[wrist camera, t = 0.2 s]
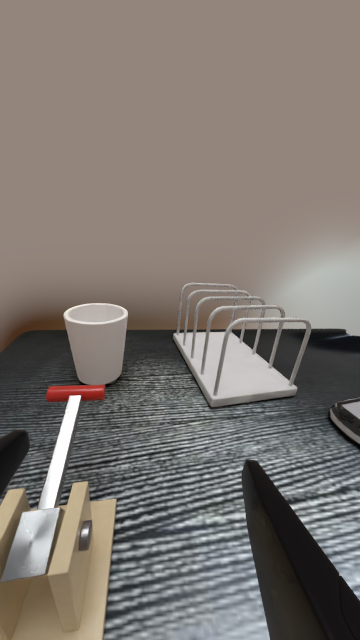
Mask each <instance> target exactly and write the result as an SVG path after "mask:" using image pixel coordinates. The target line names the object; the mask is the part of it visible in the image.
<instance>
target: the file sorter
mask: <svg viewBox="0 0 360 640" xmlns="http://www.w3.org/2000/svg"><path fill="white" fill-rule="evenodd" d="M192 285H193V286H220V287H233V288H234V289H235V290H196V291H194V292H192V293H191V294H190V295H189V297H188V299H187V304H186V315H185V326H184V333H179V327H180V317H181V306H182V298H183V292H184V290H185V288H186V287H188V286H192ZM196 293H236V297H206V298H204V299H202V300H201V301H200V302H199V303H198V304H197V307H196V310H195V318H194V328H193V333H187V322H188V311H189V302H190V299H191V297H192V296H193V295H194V294H196ZM238 293H244V294H246V295H247V296H248V297H238ZM208 300H235V303H234V306H223V307H219V308H217V309H215V310H214V311H213V312H212V313H211V315H210V317H209V319H208V323H207V330H206V332H202V333H196V328H197V319H198V311H199V308H200V306H201V304H202V303H204V302H205V301H208ZM237 300H248V305H247V306H236V305H237ZM251 300H260V301H261V303H262V305H256V306H255V305H252V306H250V303H251ZM241 309H242V310H243V309H246V314H245V318H241V319H238V320H236V321H234V322H233V320H234V315H235V310H241ZM249 309H262V312H261V317H260V318H247V317H248V312H249ZM265 309H278V310H280V312H281V318H264V314H265ZM223 310H233V313H232V318H231V324H230V326H229V327H228V328H227V330H226V332H210V327H211V321H212V319H213V317H214V315H215V314H216V313H218V312H220V311H223ZM248 322H259V326H258V331H257V335H256V340H255V345H254V348H253V350H252V349H251V348H249V347H248V346H247V345H246V344H245V343H244V342H242V340H243V335H244V331H245V326H246V323H248ZM262 322H280V323H279V327H278V331H277V335H276V339H275V343H274V347H273V350H272V355H271V358H270V363H269V364H268V363H267V362H266V361H265V360H264V359H262V358H261V357H260V356H259V355H258V354H257V353H255V352H256V348H257V344H258V340H259V335H260V331H261V327H262ZM284 322H304V323H305V324H306V333H305V337H304V340H303V343H302V346H301V349H300V352H299V354H298V358H297V361H296V363H295V366H294V369H293V372H292V375H291V378H290V381H289V380H288V379H286V378H285V377H284V376H283V375H281V374H280V373H279V372H278V371H277V370H276V369H274V368H273V367H272V364H273V360H274V357H275V353H276V349H277V345H278V342H279V338H280V334H281V330H282V326H283V323H284ZM240 323H243V328H242V332H241V337H240V339H239V338H238V337H237V336H235V335H234V334H233V333H232V332H231V331H232V329H233V328H234V327H235V326H236V325H238V324H240ZM310 333H311V324H310V322H309V321H308V320H306V319H303V318H285V312H284V310H283V309H282V307H280V306H278V305H266V304H265V301H264V300H263V299H262V298H260V297H250V295H249V293H248V292H246V291H243V290H238V289H237V288H236V287H235V286H234V285H230V284H208V283H189V284H186V285H185V286H184V287H183V288H182V290H181V294H180V303H179V313H178V324H177V333H174V334H173V340H174V341H175V343H176V345H177V347H178V349H179V350H180V352H181V354H182V356H183V358H184V359H185V361H186V363H187V365H188V367H189V368H190V370H191V372H192V374H193V376H194V377H195V379H196V381H197V383H198V385H199V386H200V388H201V390H202V392H203V394H204V396H205V397H206V399H207V401H208V403H209V405H210V406H211V407H218V406H224V405H231V404H238V403H245V402H252V401H259V400H266V399H273V398H280V397H287V396H295V395H296V391H297V387H296V386H295V385H293V382H294V379H295V377H296V374H297V371H298V368H299V365H300V362H301V359H302V356H303V354H304V351H305V348H306V345H307V342H308V339H309V336H310Z"/></svg>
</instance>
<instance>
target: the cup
mask: <svg viewBox="0 0 360 640" xmlns="http://www.w3.org/2000/svg"><path fill="white" fill-rule="evenodd" d="M127 317H128V312H127V310H126V309H124V308H123V307H120V306H117V305H112V304H103V303H93V304H84V305H79V306H75V307H72V308H70V309H68V310H67V311H66V312H65V313H64V320H65V324H66V328H67V333H68V337H69V341H70V346H71V350H72V354H73V359H74V363H75V367H76V372H77V376H78V379H79V380H80V381H81V382H82V383H85V384H86V385H103V384H113V383H115V382H116V380H117V379H118V377H119V376H120V374H121V372H122V364H123V354H124V345H125V336H126V326H127Z"/></svg>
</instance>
